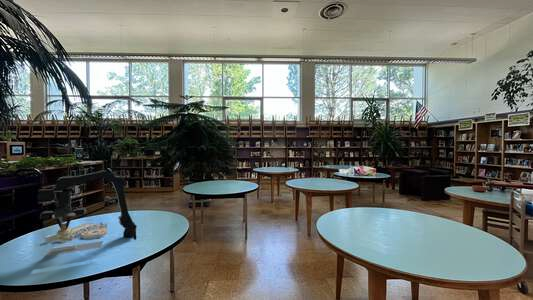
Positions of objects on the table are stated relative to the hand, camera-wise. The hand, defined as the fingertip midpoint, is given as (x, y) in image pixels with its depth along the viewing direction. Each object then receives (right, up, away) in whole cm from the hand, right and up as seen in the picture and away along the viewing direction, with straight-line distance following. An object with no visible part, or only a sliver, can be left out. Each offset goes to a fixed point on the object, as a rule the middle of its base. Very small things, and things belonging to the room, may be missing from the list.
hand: (64, 228), depth 132 cm
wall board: (+4, -13, +3) cm, 14 cm away
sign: (-6, -13, +25) cm, 29 cm away
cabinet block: (0, -6, 0) cm, 6 cm away
